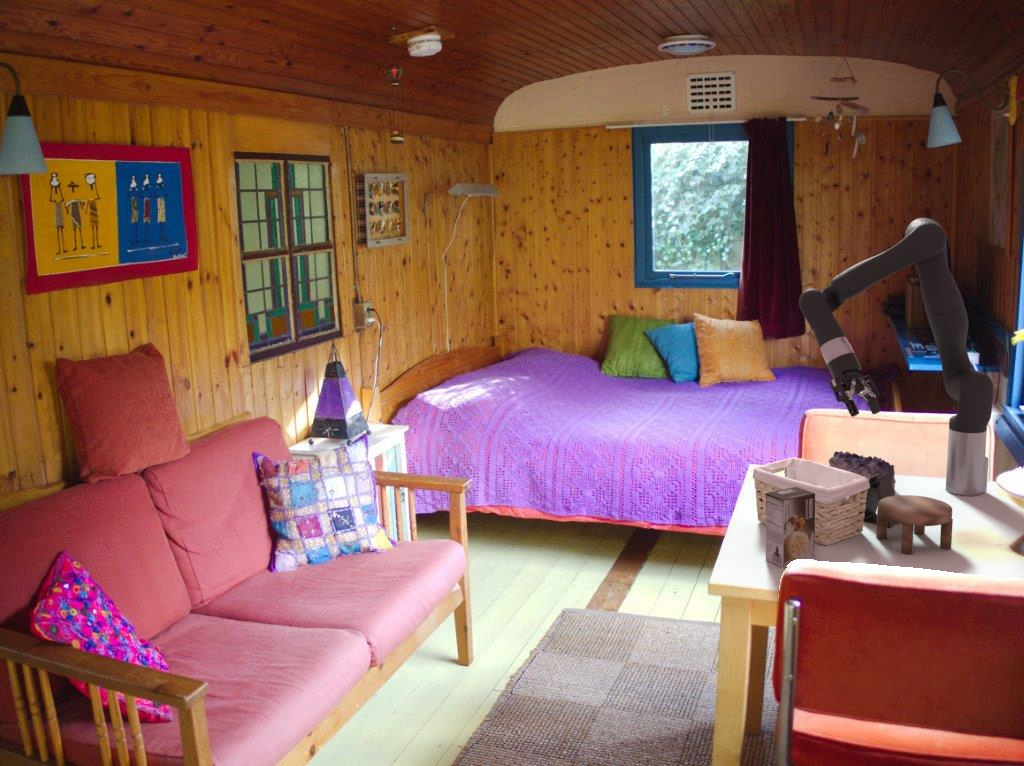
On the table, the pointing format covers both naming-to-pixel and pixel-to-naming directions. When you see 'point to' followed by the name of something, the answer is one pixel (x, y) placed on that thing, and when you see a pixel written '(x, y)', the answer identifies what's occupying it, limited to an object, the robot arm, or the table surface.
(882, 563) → the table surface
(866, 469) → the geode
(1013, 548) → the table surface
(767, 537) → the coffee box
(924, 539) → the table surface
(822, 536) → the storage basket
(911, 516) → the stool
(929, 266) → the robot arm
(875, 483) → the phone stand
